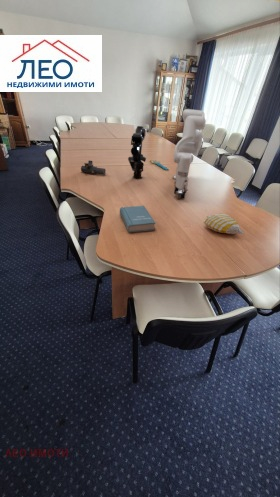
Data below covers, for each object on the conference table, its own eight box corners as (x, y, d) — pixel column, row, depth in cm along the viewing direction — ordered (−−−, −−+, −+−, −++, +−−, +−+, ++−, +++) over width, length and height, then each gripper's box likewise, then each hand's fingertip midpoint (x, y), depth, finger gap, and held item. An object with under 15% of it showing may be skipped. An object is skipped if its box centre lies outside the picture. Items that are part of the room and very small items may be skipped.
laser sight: (102, 176, 199) (102, 165, 193) (79, 173, 202) (78, 162, 196) (106, 173, 207) (106, 162, 201) (83, 170, 210) (82, 159, 204)
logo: (149, 161, 250) (149, 160, 250) (157, 160, 253) (157, 160, 252) (160, 170, 225) (160, 169, 224) (168, 170, 227) (168, 169, 227)
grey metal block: (177, 199, 169) (178, 193, 166) (174, 197, 172) (175, 191, 169) (182, 198, 171) (183, 192, 168) (179, 196, 174) (180, 190, 171)
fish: (254, 225, 128) (232, 232, 118) (249, 236, 132) (228, 244, 123) (221, 208, 144) (199, 213, 134) (217, 218, 149) (196, 224, 139)
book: (154, 230, 131) (155, 222, 128) (128, 232, 126) (128, 225, 124) (143, 212, 148) (143, 205, 145) (119, 214, 144) (120, 207, 141)
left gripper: (150, 154, 169) (148, 175, 179) (140, 149, 183) (139, 168, 192) (137, 155, 165) (136, 176, 175) (128, 149, 179) (127, 169, 188)
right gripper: (194, 177, 156) (189, 199, 166) (181, 169, 168) (177, 191, 178) (185, 177, 153) (180, 201, 163) (172, 170, 165) (169, 192, 176)
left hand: (135, 172), depth 182 cm, fingers open, 9 cm apart
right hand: (179, 195), depth 171 cm, fingers open, 9 cm apart
